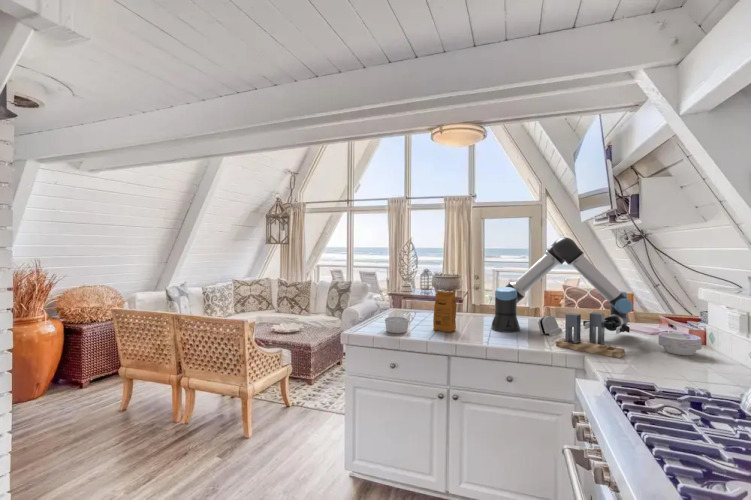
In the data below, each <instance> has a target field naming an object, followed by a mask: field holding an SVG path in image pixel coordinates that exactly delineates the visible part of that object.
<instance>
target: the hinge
mask: <svg viewBox="0 0 751 500" xmlns="http://www.w3.org/2000/svg"><path fill="white" fill-rule="evenodd" d="M537 324H538V328H539V333H540V335H546V334H548V335H549V336H550V337H551V336H554V335H556V334H559V333H562V332H563V330H562V327H559V324H558V321H557V319H556V317H554V316H553V315H547V316H543V317H541V318H540V319H538V321H537Z"/></svg>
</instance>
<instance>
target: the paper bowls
mask: <svg viewBox="0 0 751 500" xmlns="http://www.w3.org/2000/svg"><path fill="white" fill-rule="evenodd" d="M657 337H658V339H657V340H658V345H660V346H662V348H663V349H664V350H665V352H667V353H670V354H673V355H678V356H693V355H695V354H696V352H697V351H700V350H702V348H703V346H702V345H703V344H702V341H703V339H702V337H700V336H698V335H695V334H691V333H690V334H689V333H684V332H673V331H669V332H668V331H667V332H665V331H664V332H659V333H658V335H657Z"/></svg>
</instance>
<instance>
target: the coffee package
mask: <svg viewBox="0 0 751 500" xmlns="http://www.w3.org/2000/svg"><path fill="white" fill-rule="evenodd" d="M456 300H457V299H456V292H455V291H442V290H437V291H436V295H435V300H434V301H435V302H434V305H433V308H434V309H433V323H432V325H433V328H432V329H433V331H439V332H441V333H442V332H444V333H452V332H454V331H455V330H456V329H457V324H456V323H457V321H456V319H457V302H456Z"/></svg>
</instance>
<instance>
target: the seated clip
mask: <svg viewBox="0 0 751 500" xmlns="http://www.w3.org/2000/svg"><path fill="white" fill-rule="evenodd" d="M581 317H582V314H580V313H573V312H568V313H566V314H565V322H564V323H565V328H564V329H565V330H564V332H565V334H564V336H565V337H564V338H565V342H567V343H571V342H572V340H573V344H580V341H581V332H582V331H581V328H582V321H581V320H582V318H581Z"/></svg>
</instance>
